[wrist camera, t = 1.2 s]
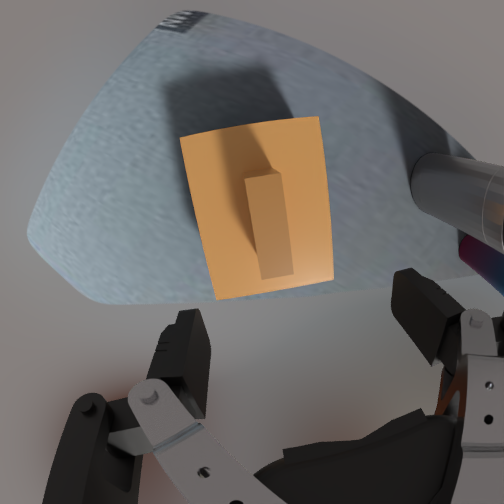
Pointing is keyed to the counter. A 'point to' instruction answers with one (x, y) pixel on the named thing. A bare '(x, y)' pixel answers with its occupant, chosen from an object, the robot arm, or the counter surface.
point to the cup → (483, 261)
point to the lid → (261, 205)
